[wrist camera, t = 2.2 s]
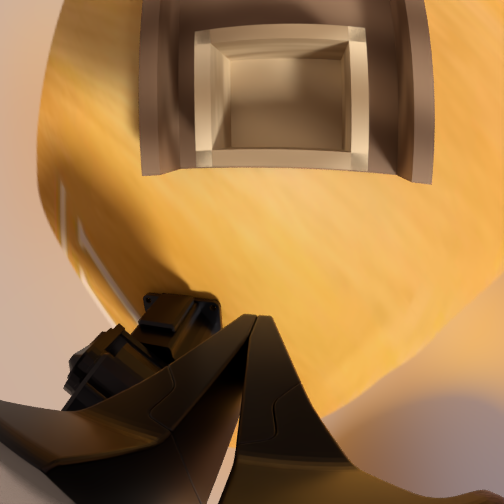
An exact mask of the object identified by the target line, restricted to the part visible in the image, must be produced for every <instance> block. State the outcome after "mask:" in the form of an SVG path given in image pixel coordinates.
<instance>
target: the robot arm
mask: <svg viewBox="0 0 504 504" xmlns="http://www.w3.org/2000/svg"><path fill="white" fill-rule="evenodd" d="M148 298H150V299H151V301H150V300H149V299H148ZM143 301H144V306H145V311H146V313H145V314H144V315H143V316H142V317H141V318H140V320H139V321H138V324H139V325H138V326H137V327H136V328H135V330H134V331H133V332H132V333H131V334H129V333H128V332H127V331H125V328H124V327H123V326H122V325H121V324H118V325H117V326H116V327H115V328H114V329H112V328H110V329H109V330H108V331H107V332H101V333H100V334H99V335H98V336H97V337H96V338H95V340H94V341H93V342H92V343H90V345H88V346H87V347H85V348H83V349H82V350H80V351H78V352H77V353H75V354H74V355H73V356H72V357H71V358H70V360H69V367H70V373H69V375H68V377H67V378H68V380H67V382H66V384H65V385H64V388H63V389H64V390H65V391H67V392H68V393H69V394H70V395H71V398H70V399H69V401H68V402H67V403H66V405H65V406H64V407H63V409H62V410H61V411H58V410H50V409H44V408H38V407H32V406H26V405H21V404H16V403H11V402H6V401H2V400H0V504H207V501H208V498H209V496H210V493H211V490H212V488H213V485H214V483H215V481H216V478H217V475H218V473H219V470H220V467H221V465H222V462H223V459H224V457H225V454H226V451H227V449H228V446H229V443H230V441H231V438H232V435H233V432H234V429H235V427H236V424H237V421H238V418H239V426H238V434H237V442H236V451H235V458H234V463H233V466H232V469H231V472H230V474H229V477H228V480H227V482H226V485H225V487H224V490H223V492H222V495H221V498H220V500H219V503H218V504H504V497H502V496H500V495H498V494H495V493H493V492H491V491H488V490H477V491H473V492H469V493H465V494H461V495H458V496H454V497H447V498H432V497H425V496H422V495H418V494H415V493H412V492H410V491H407V490H405V489H402V488H400V487H397V486H395V485H393V484H390V483H388V482H385V481H383V480H381V479H379V478H377V477H375V476H372V475H370V474H368V473H366V472H364V471H362V470H360V469H359V468H358V467H356V466H355V465H354V464H353V463H352V462H351V461H350V460H349V459H348V457H347V456H346V455H345V453H344V452H343V451H342V449H341V448H340V446H339V445H338V443H337V442H336V441H335V439H334V438H333V436H332V435H331V434H330V432H329V431H328V429H327V428H326V426H325V425H324V423H323V422H322V420H321V419H320V417H319V416H318V414H317V412H316V411H315V409H314V408H313V406H312V404H311V402H310V400H309V398H308V396H307V394H306V392H305V390H304V387H303V385H302V384H301V381H300V379H299V376H298V374H297V372H296V370H295V367H294V365H293V363H292V361H291V358H290V356H289V354H288V352H287V349H286V347H285V345H284V342H283V340H282V338H281V336H280V333H279V331H278V329H277V327H276V324H275V322H274V320H273V318H272V317H271V316H264V315H259V316H258V317H257V315H252V314H243V315H241V316H240V317H239V318H237V319H236V320H234V321H233V322H231V323H230V324H229V325H227V326H226V327H224V328H222V315H221V305H220V303H219V302H218V301H217V300H212V299H202V298H193V297H191V296H185V295H176V294H166V293H162V294H156V293H147V294H146V295H145V296H144V297H143ZM211 305H214V306H215V307H216V308H213V307H212V306H211ZM239 415H240V417H239Z"/></svg>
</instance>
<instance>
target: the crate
mask: <svg viewBox="0 0 504 504" xmlns="http://www.w3.org/2000/svg"><path fill="white" fill-rule="evenodd" d="M194 101H195V144H196V167H229V166H265V167H305V168H327V169H344V170H358V171H368V149H369V87H368V63H367V47H366V34H365V28H361V27H351V26H340V25H324V24H263V25H247V26H235V27H225V28H217V29H209V30H202V31H196V32H195V43H194Z"/></svg>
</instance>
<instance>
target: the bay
mask: <svg viewBox="0 0 504 504" xmlns="http://www.w3.org/2000/svg"><path fill="white" fill-rule="evenodd" d="M263 24H324V25H340V26H351V27H361V28H365V34H366V47H367V63H368V87H369V149H368V171H358V170H344V169H327V168H305V167H265V166H229V167H263V168H304V169H326V170H343V171H357V172H370V173H381V174H392V175H398V176H400V177H402V178H404V179H406V180H408V181H410V182H414V183H423V184H431V185H432V173H433V158H434V129H435V107H434V80H433V65H432V54H431V44H430V36H429V28H428V22H427V15H426V9H425V4H424V0H143V4H142V16H141V31H140V52H139V129H140V151H141V168H142V176H151V175H162V174H165V173H168V172H172V171H175V170H178V169H188V168H229V167H196V144H195V101H194V43H195V32H196V31H202V30H209V29H217V28H225V27H235V26H247V25H263Z"/></svg>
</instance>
